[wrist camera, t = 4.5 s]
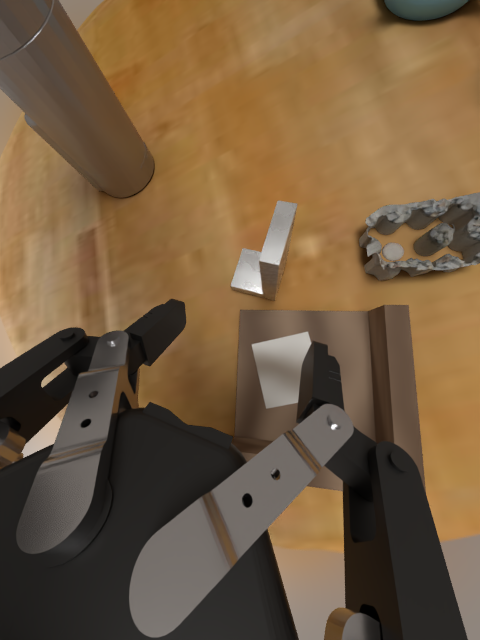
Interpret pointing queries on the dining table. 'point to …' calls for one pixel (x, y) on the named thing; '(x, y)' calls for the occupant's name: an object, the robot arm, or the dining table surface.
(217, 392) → the dining table surface
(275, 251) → the bracket
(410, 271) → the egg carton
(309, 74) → the dining table surface
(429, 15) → the teapot
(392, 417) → the arena
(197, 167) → the dining table surface
